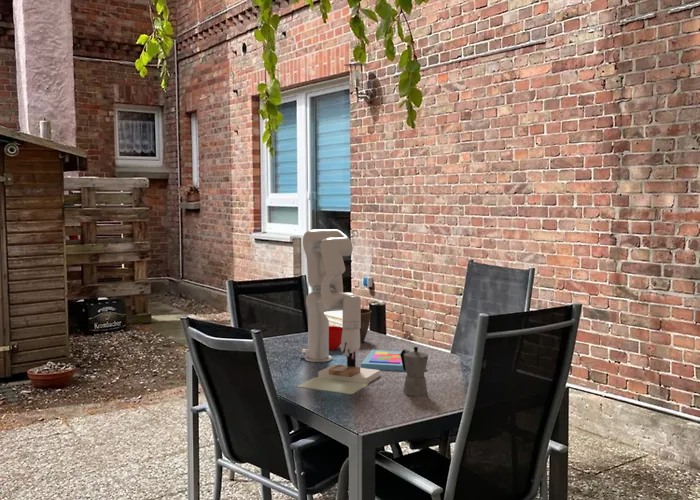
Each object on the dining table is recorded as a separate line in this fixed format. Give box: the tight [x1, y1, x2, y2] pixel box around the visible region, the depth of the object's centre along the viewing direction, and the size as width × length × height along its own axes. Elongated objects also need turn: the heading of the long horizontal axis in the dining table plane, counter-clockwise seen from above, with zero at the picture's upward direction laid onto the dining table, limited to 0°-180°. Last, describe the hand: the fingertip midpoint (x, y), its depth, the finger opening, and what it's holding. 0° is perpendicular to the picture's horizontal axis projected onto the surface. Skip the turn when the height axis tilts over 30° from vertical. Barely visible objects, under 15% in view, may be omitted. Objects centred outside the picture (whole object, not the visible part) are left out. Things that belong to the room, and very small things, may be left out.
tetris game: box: [360, 349, 406, 372], centre depth 317 cm, size 28×3×28 cm
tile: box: [329, 364, 361, 377], centre depth 288 cm, size 10×9×2 cm
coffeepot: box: [401, 346, 429, 397], centre depth 269 cm, size 15×9×18 cm, turn 35°
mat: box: [296, 376, 370, 395], centre depth 279 cm, size 24×16×1 cm, turn 65°
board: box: [317, 364, 381, 384], centre depth 292 cm, size 22×14×2 cm, turn 65°
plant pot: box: [360, 308, 372, 343], centre depth 364 cm, size 15×15×16 cm
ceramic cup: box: [329, 325, 343, 351], centre depth 347 cm, size 13×17×10 cm
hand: (351, 367), depth 294 cm, fingers closed
